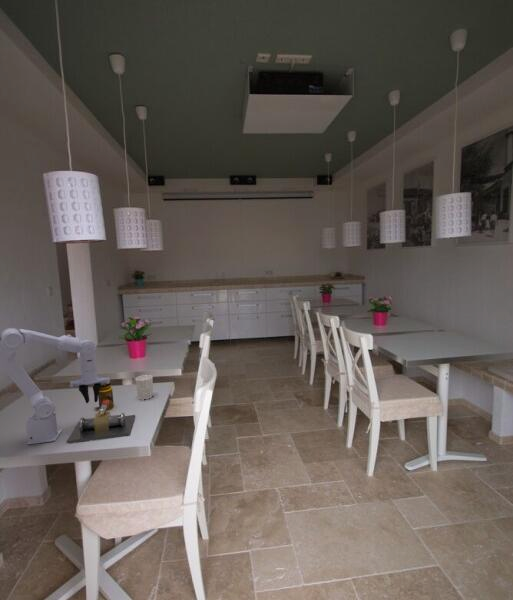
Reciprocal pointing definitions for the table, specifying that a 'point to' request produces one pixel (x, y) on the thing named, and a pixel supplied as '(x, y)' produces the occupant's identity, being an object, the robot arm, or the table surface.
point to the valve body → (102, 427)
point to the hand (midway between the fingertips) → (92, 401)
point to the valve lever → (103, 407)
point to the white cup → (144, 386)
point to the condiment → (105, 397)
